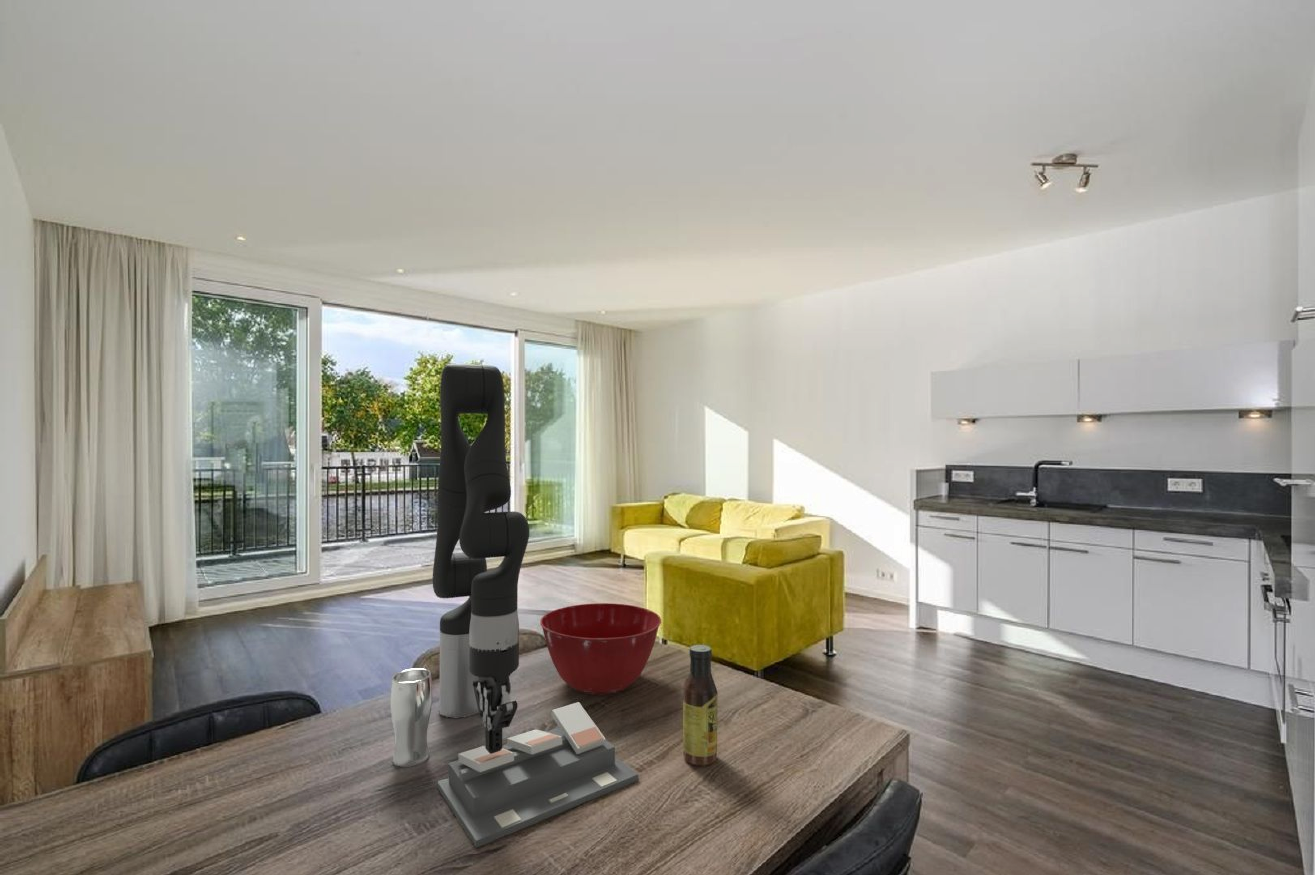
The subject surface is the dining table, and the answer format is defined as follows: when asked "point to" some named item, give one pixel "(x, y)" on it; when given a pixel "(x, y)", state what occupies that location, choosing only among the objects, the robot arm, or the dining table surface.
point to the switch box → (530, 787)
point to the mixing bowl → (600, 644)
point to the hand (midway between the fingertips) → (493, 750)
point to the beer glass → (411, 715)
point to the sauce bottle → (700, 709)
